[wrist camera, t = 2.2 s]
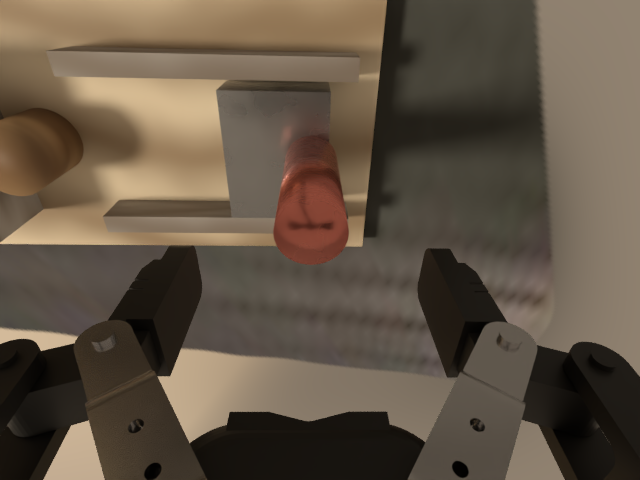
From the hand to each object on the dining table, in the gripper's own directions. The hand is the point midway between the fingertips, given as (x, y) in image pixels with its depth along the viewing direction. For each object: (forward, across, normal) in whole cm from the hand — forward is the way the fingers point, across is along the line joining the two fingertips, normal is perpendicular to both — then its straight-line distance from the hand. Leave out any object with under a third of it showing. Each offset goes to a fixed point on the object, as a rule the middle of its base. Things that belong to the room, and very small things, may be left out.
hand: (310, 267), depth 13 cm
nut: (+13, +17, 0) cm, 21 cm away
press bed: (+14, +10, 0) cm, 17 cm away
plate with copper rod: (+13, +2, 0) cm, 13 cm away
